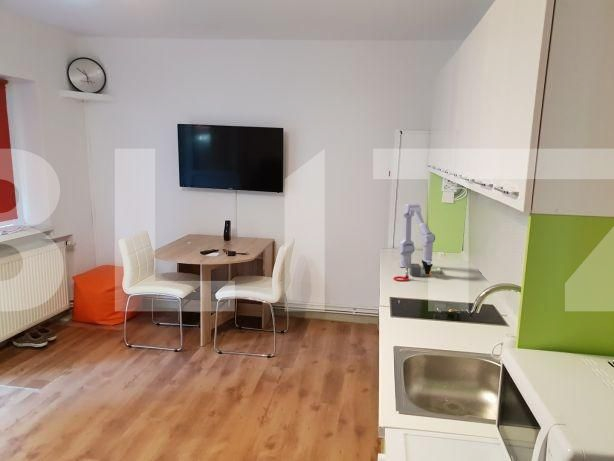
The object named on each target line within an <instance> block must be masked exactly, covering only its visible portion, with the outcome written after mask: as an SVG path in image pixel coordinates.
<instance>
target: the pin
mask: <svg viewBox="0 0 614 461" xmlns="http://www.w3.org/2000/svg"><path fill="white" fill-rule="evenodd" d="M408 275H409V277H410V276H411V277H412V267H410V268H408ZM420 277H432V273H431V269H430V273H429V274H425V267H421V276H420Z"/></svg>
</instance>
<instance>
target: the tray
mask: <svg viewBox="0 0 614 461" xmlns="http://www.w3.org/2000/svg"><path fill="white" fill-rule="evenodd" d="M420 267H423V265H422V266H421V265H420ZM432 274H436V275H439V274H440V275H442V270H441V268H440V267H439V266H432V267H431V275H432Z"/></svg>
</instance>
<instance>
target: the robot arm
mask: <svg viewBox="0 0 614 461" xmlns="http://www.w3.org/2000/svg"><path fill="white" fill-rule="evenodd" d="M421 211H422V208H421V205H420V204H419V203H406V204H404V206H402V216H403V219H402V220H403V221H402V225H403V226H402V240H400V241H399V245H398V248H397V250H398V252H399V254H400V259H399V263H398V265H399V267H400V268H405V269H406V259H408V269H409V268H410V267H411V263H412V255H413V253H415V248H416V247H415V243H414V241H413V240H412V218H413V217H414V218H415V220H416V222H417V224H418V230H419V233H420V234H421V236H422V237H421V242H422V246H423V247H422V258H420V261H421V263H422V266H423V267H425V274H429V273H430V269H431V267H433V263H432V262H433V251H434V250H433V248H434V242H436V241H435V240H436V236H435V233H433V231H431V229H430V227H428V223H425V221H424V218H423V216H422V214H421Z"/></svg>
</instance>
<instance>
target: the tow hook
mask: <svg viewBox="0 0 614 461" xmlns="http://www.w3.org/2000/svg"><path fill="white" fill-rule="evenodd" d="M409 278H410V275H409V268H408V259H406V268H405V276H403V275H402V276H393V278H392V280H393V279H394V280H393V281H395V282H406V281H407V282H409V281H410V279H409Z"/></svg>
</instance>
